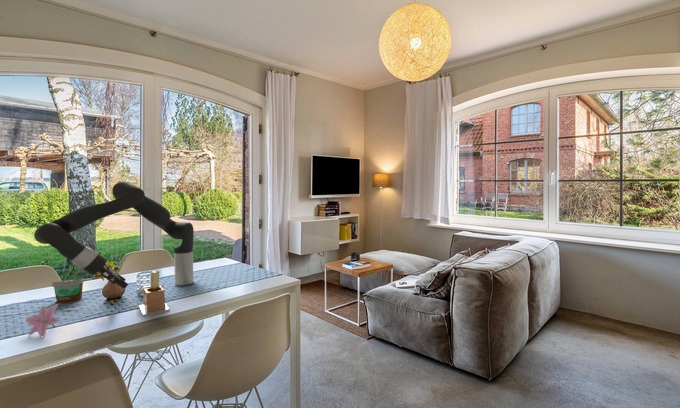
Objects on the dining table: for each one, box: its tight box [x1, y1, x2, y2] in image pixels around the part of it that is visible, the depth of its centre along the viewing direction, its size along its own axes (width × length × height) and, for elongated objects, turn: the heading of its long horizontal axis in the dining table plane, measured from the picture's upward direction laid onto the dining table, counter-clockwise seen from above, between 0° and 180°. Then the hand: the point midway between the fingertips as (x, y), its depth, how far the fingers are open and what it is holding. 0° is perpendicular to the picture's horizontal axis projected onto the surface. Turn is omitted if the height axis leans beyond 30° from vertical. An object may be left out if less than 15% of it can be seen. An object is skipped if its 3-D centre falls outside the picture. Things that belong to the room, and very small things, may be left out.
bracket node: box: [137, 285, 171, 317], centre depth 152 cm, size 13×10×10 cm
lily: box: [24, 303, 60, 337], centre depth 130 cm, size 12×12×10 cm
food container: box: [51, 277, 85, 304], centre depth 161 cm, size 12×6×10 cm, turn 117°
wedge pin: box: [149, 270, 160, 292], centre depth 149 cm, size 3×3×11 cm
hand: (125, 283), depth 143 cm, fingers open, 8 cm apart
